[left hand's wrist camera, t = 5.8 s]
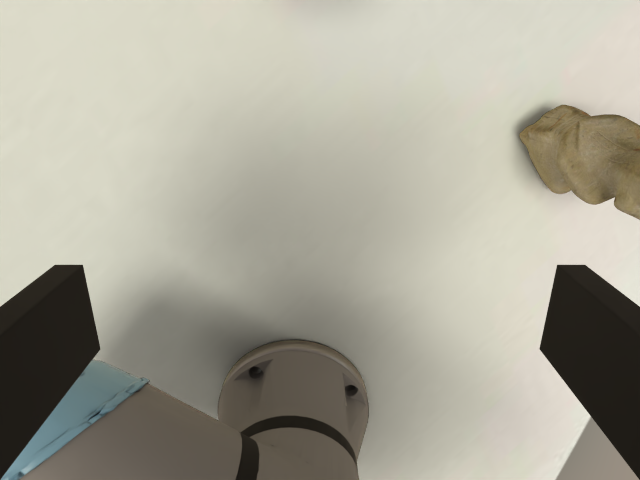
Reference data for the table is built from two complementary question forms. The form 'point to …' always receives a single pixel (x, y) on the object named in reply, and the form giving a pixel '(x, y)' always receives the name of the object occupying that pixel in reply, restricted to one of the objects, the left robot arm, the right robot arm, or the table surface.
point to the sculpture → (587, 156)
